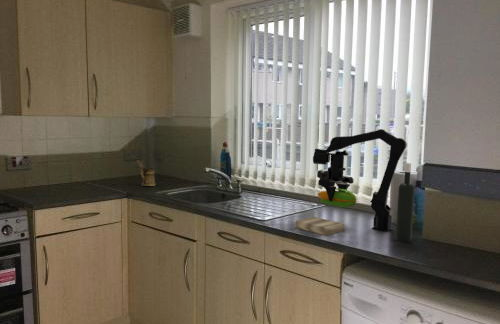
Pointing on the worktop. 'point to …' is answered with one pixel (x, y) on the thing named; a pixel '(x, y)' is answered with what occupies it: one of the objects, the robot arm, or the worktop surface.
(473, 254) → the worktop surface
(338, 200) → the corn
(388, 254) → the worktop surface
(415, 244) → the worktop surface
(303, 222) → the birch base
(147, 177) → the wooden mug
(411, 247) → the worktop surface
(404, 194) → the wine bottle
